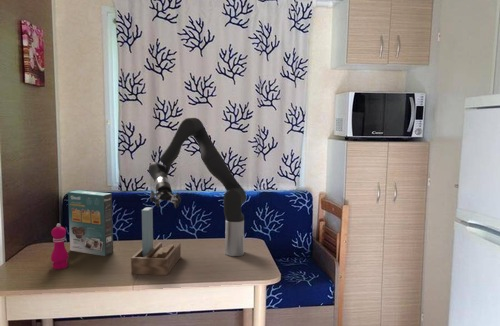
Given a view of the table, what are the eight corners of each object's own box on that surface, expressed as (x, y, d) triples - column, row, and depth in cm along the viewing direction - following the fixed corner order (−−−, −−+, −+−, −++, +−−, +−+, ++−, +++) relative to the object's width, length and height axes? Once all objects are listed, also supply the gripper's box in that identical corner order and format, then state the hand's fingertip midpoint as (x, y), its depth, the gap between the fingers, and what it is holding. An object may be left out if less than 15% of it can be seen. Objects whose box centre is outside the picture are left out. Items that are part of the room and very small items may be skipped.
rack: (180, 256, 198) (180, 242, 197) (167, 275, 175) (166, 259, 174) (149, 255, 199) (148, 241, 199) (131, 273, 176) (131, 257, 176)
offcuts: (174, 260, 194) (174, 243, 193) (166, 270, 181) (166, 252, 180) (160, 259, 194) (160, 243, 194) (152, 269, 182) (151, 252, 181)
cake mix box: (113, 252, 204) (111, 193, 201) (105, 256, 198) (103, 195, 195) (79, 247, 212) (77, 190, 208) (70, 250, 206) (68, 192, 203)
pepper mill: (65, 262, 189) (63, 220, 186) (71, 266, 183) (69, 223, 181) (48, 266, 184) (47, 223, 181) (54, 270, 178) (52, 226, 176)
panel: (153, 261, 191) (152, 207, 188) (149, 266, 185) (148, 210, 182) (147, 261, 191) (146, 207, 189) (142, 266, 185) (141, 210, 183)
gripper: (150, 179, 200) (153, 198, 187) (178, 182, 206) (184, 200, 193) (147, 192, 203) (151, 212, 190) (175, 194, 209) (180, 213, 196)
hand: (167, 206), depth 191 cm, fingers open, 8 cm apart
